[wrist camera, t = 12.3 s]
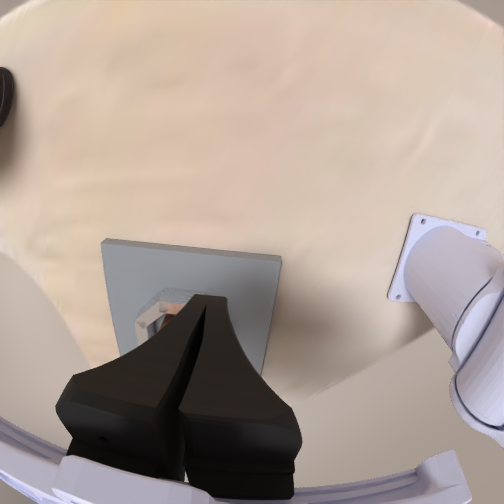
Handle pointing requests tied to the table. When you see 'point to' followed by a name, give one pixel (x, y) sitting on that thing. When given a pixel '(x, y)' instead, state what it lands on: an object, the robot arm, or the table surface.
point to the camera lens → (5, 93)
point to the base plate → (191, 287)
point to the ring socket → (160, 310)
